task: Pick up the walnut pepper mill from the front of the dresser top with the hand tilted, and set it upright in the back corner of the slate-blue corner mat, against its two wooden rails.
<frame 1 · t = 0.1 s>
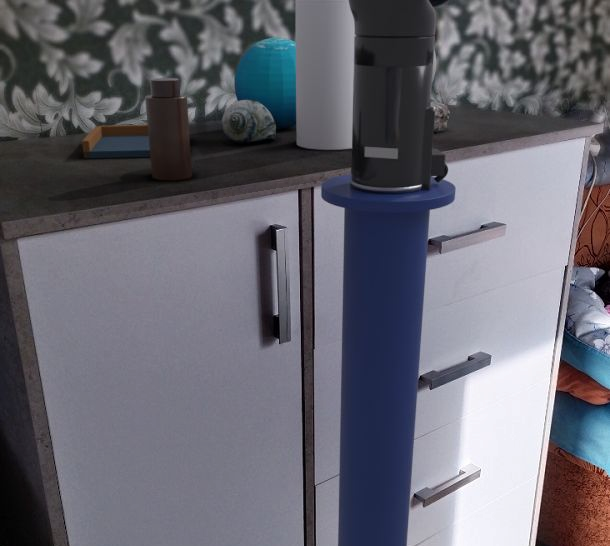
vase: (329, 145, 123), on the dresser
light fixture: (388, 116, 152), on the dresser
corner mat: (140, 148, 120), on the dresser
stone: (411, 132, 134), on the dresser
seashell: (247, 143, 125), on the dresser
pepper mill: (172, 176, 101), on the dresser
decorative orb: (278, 130, 137), on the dresser
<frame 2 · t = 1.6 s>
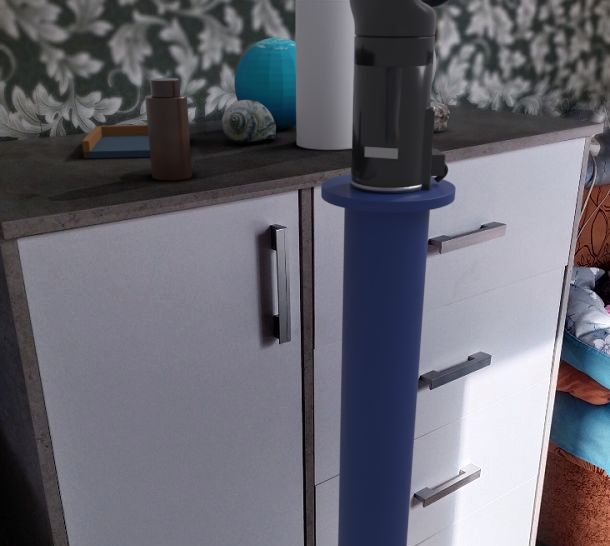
nothing on the dresser moved.
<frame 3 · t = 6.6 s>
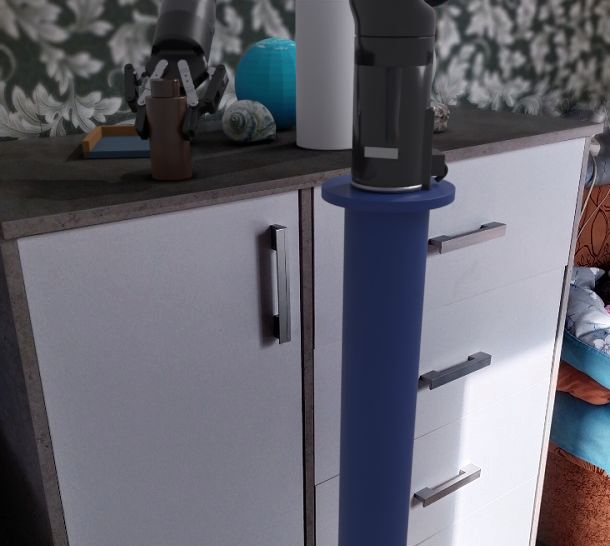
hand: (164, 136, 97), 5 cm above the dresser, tool tilted 45°, fingers closed on pepper mill, 5 cm apart
pepper mill: (172, 176, 101), on the dresser, touching gripper
everything else where it was.
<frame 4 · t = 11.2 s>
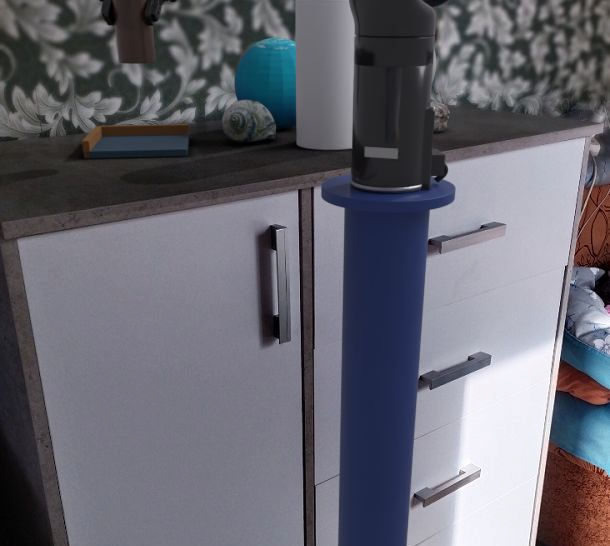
hand: (129, 20, 105), 18 cm above the dresser, tool tilted 45°, fingers closed on pepper mill, 5 cm apart
pepper mill: (137, 62, 109), point 13 cm above the dresser, touching gripper
everything else where it was.
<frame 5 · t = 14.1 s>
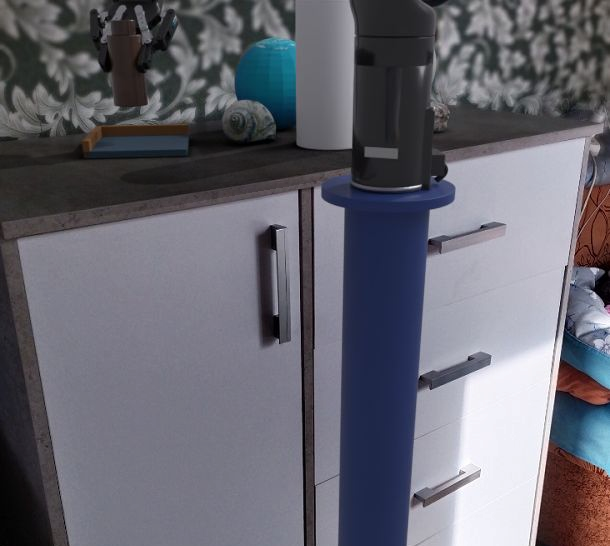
hand: (123, 68, 115), 12 cm above the dresser, tool tilted 45°, fingers closed on pepper mill, 5 cm apart
pepper mill: (131, 104, 119), point 6 cm above the dresser, touching gripper
everything else where it was.
when the fingers open (6 cm above the dresser, at t = 16.0 s): pepper mill stays where it is, resting on corner mat.
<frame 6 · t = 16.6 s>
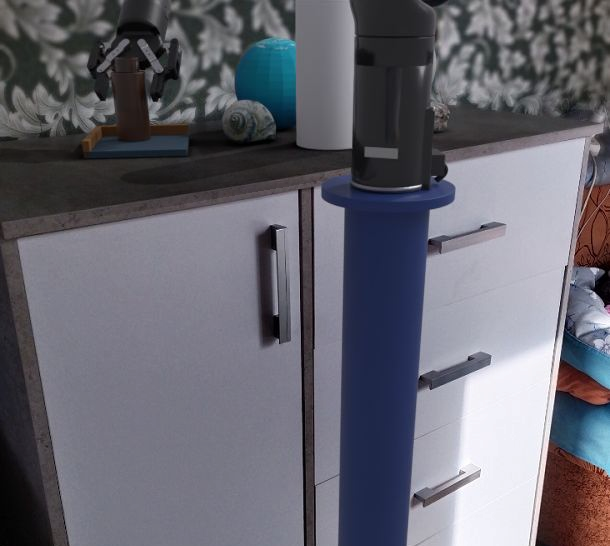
hand: (127, 98, 117), 7 cm above the dresser, tool tilted 45°, fingers open, 8 cm apart
pepper mill: (134, 139, 122), point 1 cm above the dresser, touching corner mat
everything else where it was.
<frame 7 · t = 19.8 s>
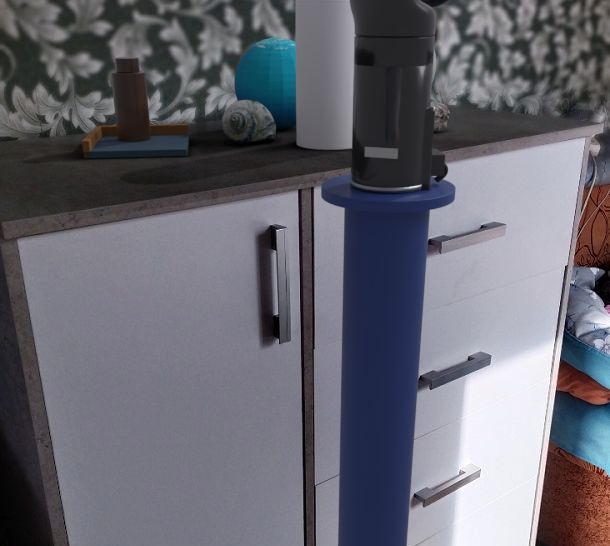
nothing on the dresser moved.
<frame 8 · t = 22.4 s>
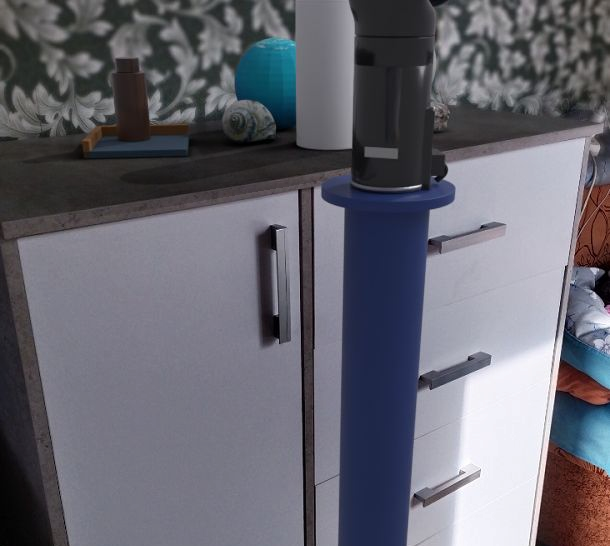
nothing on the dresser moved.
at the end: pepper mill inside the target area on the corner mat (1.3 cm from its centre), point 1.0 cm above the corner mat's base; pepper mill tilted 0°; the gripper is holding nothing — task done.
